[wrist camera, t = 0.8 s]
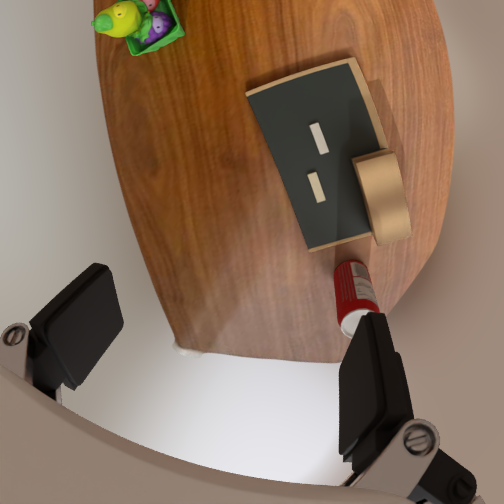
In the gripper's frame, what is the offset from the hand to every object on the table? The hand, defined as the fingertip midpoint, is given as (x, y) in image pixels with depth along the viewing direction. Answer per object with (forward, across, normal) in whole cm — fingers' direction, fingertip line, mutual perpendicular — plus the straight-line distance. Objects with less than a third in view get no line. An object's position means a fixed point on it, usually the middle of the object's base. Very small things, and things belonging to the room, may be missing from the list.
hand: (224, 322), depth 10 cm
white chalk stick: (+29, -4, -5) cm, 30 cm away
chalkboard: (+30, -6, -2) cm, 31 cm away
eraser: (+29, -13, +1) cm, 32 cm away
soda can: (+31, -12, +15) cm, 36 cm away
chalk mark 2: (+29, -4, +2) cm, 30 cm away
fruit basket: (+30, +20, -22) cm, 42 cm away
